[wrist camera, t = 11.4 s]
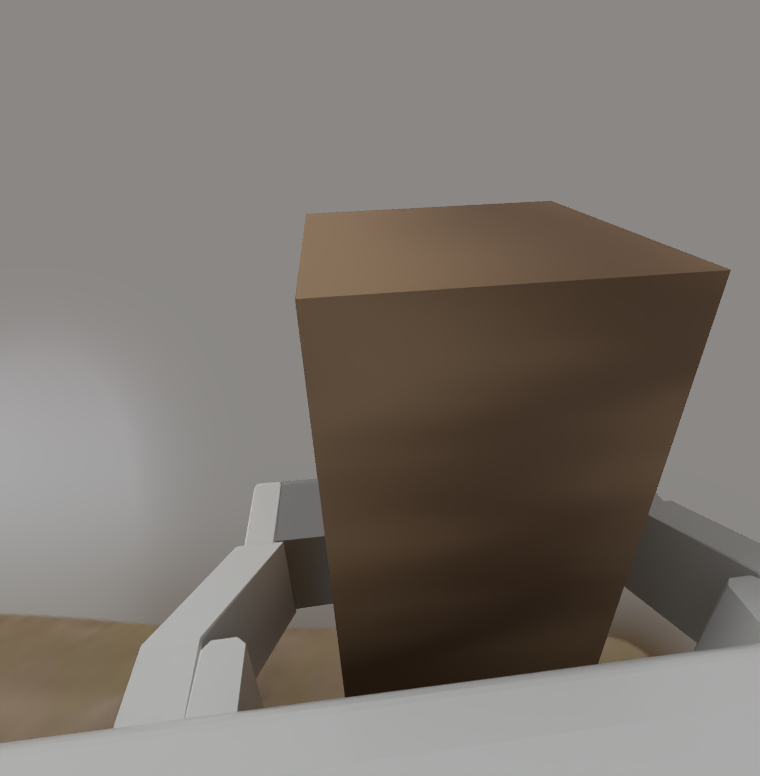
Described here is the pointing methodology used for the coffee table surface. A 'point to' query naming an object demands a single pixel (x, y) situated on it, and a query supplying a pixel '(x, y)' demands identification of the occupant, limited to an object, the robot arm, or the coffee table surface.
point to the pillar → (489, 428)
